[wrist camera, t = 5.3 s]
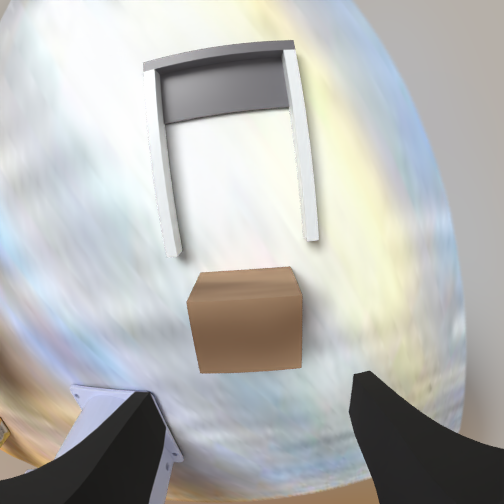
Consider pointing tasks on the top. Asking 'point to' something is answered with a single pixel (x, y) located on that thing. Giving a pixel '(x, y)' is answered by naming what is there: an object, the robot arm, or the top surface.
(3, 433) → the candy box
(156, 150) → the channel
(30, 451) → the top surface
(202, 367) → the walnut block
